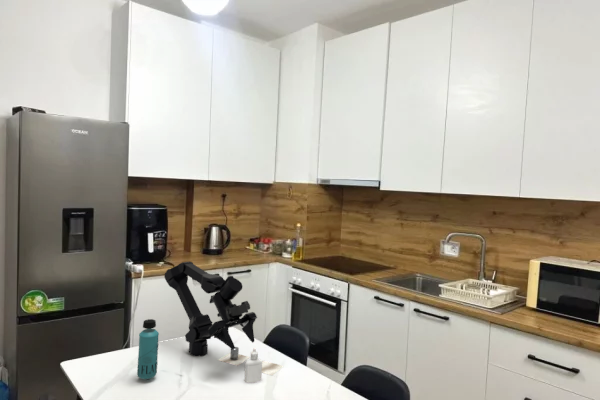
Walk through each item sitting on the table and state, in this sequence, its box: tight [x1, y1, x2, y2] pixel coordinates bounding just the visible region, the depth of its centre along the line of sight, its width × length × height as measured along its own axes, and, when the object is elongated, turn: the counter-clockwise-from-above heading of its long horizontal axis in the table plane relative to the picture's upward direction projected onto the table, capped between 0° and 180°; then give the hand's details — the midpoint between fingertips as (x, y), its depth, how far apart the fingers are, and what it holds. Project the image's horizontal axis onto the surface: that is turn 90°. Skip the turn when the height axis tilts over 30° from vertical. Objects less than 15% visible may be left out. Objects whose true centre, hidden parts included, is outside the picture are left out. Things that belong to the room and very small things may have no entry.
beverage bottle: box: [136, 318, 160, 380], centre depth 136 cm, size 6×7×20 cm
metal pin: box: [230, 346, 240, 360], centre depth 154 cm, size 3×3×4 cm
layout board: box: [217, 351, 284, 376], centre depth 150 cm, size 24×12×1 cm, turn 65°
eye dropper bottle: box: [243, 348, 263, 384], centre depth 138 cm, size 4×6×12 cm
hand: (243, 345), depth 141 cm, fingers open, 9 cm apart
